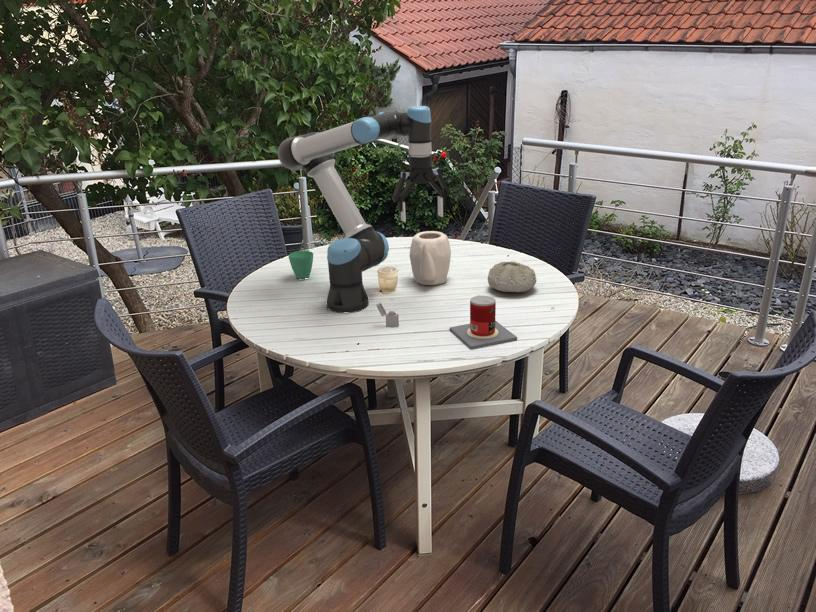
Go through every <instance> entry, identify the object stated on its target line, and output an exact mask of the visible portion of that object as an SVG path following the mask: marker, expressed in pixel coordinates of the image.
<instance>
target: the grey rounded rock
mask: <svg viewBox="0 0 816 612" xmlns="http://www.w3.org/2000/svg"><path fill="white" fill-rule="evenodd" d="M487 283H488V286H489V287H490V288H492V289H495V290H497V291H498V292H503V293H526V292H528V291H530V290H531V289H532V288H534V287H535V285H536V283H537V275H536V273H535V270H534V269H533V268H531V267H530V266H529V265H525V264H522V263H521V262H516V261H512V260H511V261H501V262H499V263H496V264H494V265H493V266H492V268H489V272H488V276H487Z"/></svg>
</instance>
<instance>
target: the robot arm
mask: <svg viewBox="0 0 816 612" xmlns="http://www.w3.org/2000/svg"><path fill="white" fill-rule="evenodd" d="M431 116H432V115H431V109H430V107H429V106H427V105H413V106H409V107H407V111H406V112H400V111H399V112H398V111H381V112H379V113H378V114H377V115H372V116H364V117H360V118H358V119H357V120H354V121H351V122H349V123H345V124H342V125H339V126H336V127H333V128H330V129H328V130H323V131H322V132H321V131H320V132H308V133H306V134H301V135H297V136H291V137H288V138H286V139H284V140H283V141H282V142H281V143H280V145H279V147H278V149H277V158H278V160H279V162H280V164H281V165H282V166H283V167H284V168H285V169H288V170H291V171H300V170H303V171H304V172H305V174H306V175H307V177H309V178H311V179H312V178H313V180H314V181H315V183H316V185H317V187H318V188H319V190H320V192H321V194H322V196H323V197H324V199H325V201H326V202H327V205H328V207H329V208H330V209H331V212H332V213H333V215H334V218H335V219H336V221H337V223H338V224H339V226H340V228H341V229H342V232H343V233H344V236H345V237H344V238H342V239H337V240H335V241H332V242H331V243H330V244H329V245H328V247H327V249H326V250H327V256H326V259H327V268H328V279H329V289H328V293H327V297H326V301H325V302H326V309H328V310H329V309H330V310H329V311H331V310H332V311H331V312H333V311H336V312H335V313H339V312H350V313H356V312H359V310H360V311H363V310H364V308H365V309H367V308H368V306H369V304H370V301H369V296H368V293H367V292H366V288H365V286H364V283H363V272H365V271H367V270H369V269H372V268H373V267H376V266H378V265H380V264H381V263H383V262H384V261H385V260H386V259H387V257H388V256H389V252H390V251H389V250H390V246H389V245H390V244H389V241H388V239H387V238H386V236H385V235H384V234H383V233H381V232H379V231H376V230H375V229H374V227H373V225H371V224H369V223H366V221H365V220H364V217H363V216H362V214H361V213H360V211H359V209H358V207H357V204H356V203H355V202H354V200H353V198H352V196H351V195H350V193H349V190H348V189H347V188H346V186H345V184H344V182H343V180H342V178H341V176H340V175H339V173H338V171H337V170H336V168H335V164H336V159H335V158H334V157H335V154H336V153H337V152H341V151H344V150H348V149H350V148H353V147H354V148H355V147H357V146H360V145H364V144H368V143H371V142H374V141H378V140H382V139H386V138H390V137H394V136H396V137H407V140H408V155H409V157H408V164H409V165H408V167H409V170H408V172H407V171H403V170H402V171H400V173H399V180H398V182H397V183H396V187H395V189H394V192H393V194H392V197H391V200H392V201H394V202H397V211H398V212H400V221H401V222H403V223H406V222H407V221H406V220H407V217H406V202H405V201H404V200H405V199H406V198H407V197H408V195H409V193H410V192H411V191H412V189H413V188H414V187H415V186H416V185H421V184H427V183H428V184H429V185H430V186H431V187H432V188H433V189H434V191H436V193H437V194H438V195H439V196H437V216H438V217H441V218H443V217H444V207H446V198H447V197H448V196H449V195H451V190H450V189H449V187H448V185H447V182H446V181H445V179H444V177H443V175H442V169H441V168H440V167H435V168H433V158H432V151H433V150H432V149H433V148H432V117H431ZM433 175H435V176H436V177H435V178H437V180H438V183H439V184H440V186H441V188H442V189H441V188H440V187H439V185H437V183H436V182H435V181H434V179H433V178H432V176H433ZM408 177H409V178H410V179H409V180H408V181H407V184H406V180H407V178H408ZM405 184H406V185H405ZM404 185H405V186H404ZM362 309H363V310H362ZM355 311H356V312H355Z"/></svg>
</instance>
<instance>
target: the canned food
mask: <svg viewBox="0 0 816 612" xmlns="http://www.w3.org/2000/svg"><path fill="white" fill-rule="evenodd" d="M496 307H497V306H496V298H495V297H493V296H490V295H476V296H473V297H471V298H470V300H469V318H470V319H469V324H470V330H471V333H472V334H474V335H477V336H490V335H492V334H494V332H495V321H496V311H497V310H496Z"/></svg>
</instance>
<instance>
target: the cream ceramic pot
mask: <svg viewBox="0 0 816 612" xmlns="http://www.w3.org/2000/svg"><path fill="white" fill-rule="evenodd" d="M451 254H452V250H451V245H450V241H449V237H448V235H446V233H443V232H441V231H438V230H437V231H435V230H431V231H430V230H426V231H421V232H417V233H416V234H415V235H413V237H412V240H411V243H410V249H409V259H410V266H411V273H412V274H413V278H414V280H415V283H418V284H420V285H423V286H437V285H440V284H444V283H446V281H447V278H448V274H449V270H450V264H451V259H452V258H451Z"/></svg>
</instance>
